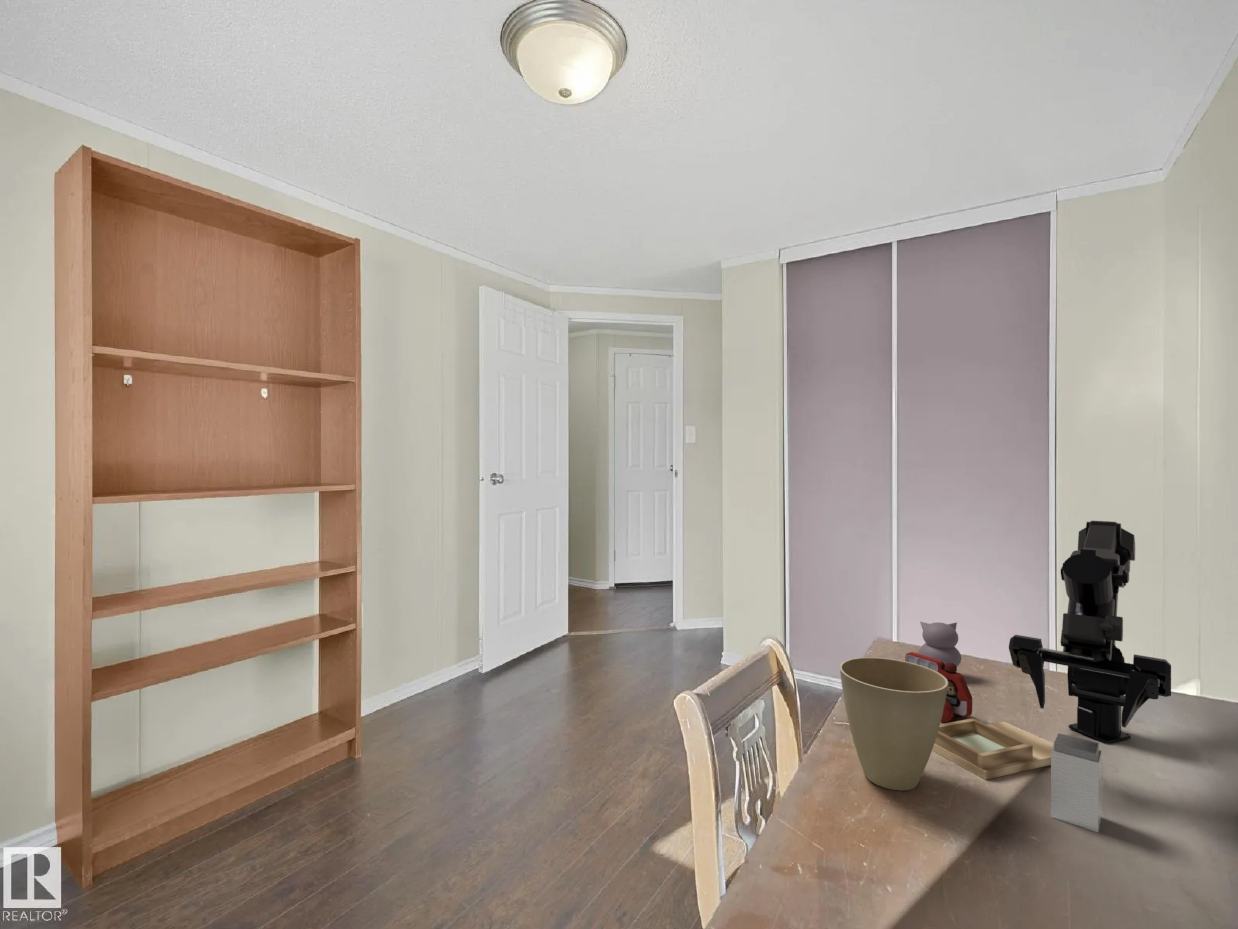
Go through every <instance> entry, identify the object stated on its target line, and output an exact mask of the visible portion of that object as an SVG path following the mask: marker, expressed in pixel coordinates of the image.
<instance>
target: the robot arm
mask: <svg viewBox="0 0 1238 929" xmlns="http://www.w3.org/2000/svg"><path fill="white" fill-rule="evenodd" d="M1077 537H1078V538H1077V550H1073V551H1072V553H1071V554H1070V556H1069V557H1067V559H1066V560H1065V561H1064V562H1063V563H1062V566H1061V568H1060V579H1061V580H1062V581H1064V586H1065V594H1066V596H1067V598H1068V606H1067V612H1066V613H1062V627H1061V628H1062V629H1061V635H1060V646H1061V647H1063V648H1062V650H1055V649H1051V648H1044V647H1043V642H1042V638H1040V637H1039V638H1038V637H1032V636H1026V635H1021V634H1014V635H1013V636H1011V637H1010V638H1009V643H1008V651H1009V654H1010V658H1011V662H1012V665H1013V666H1014V667H1016V669H1020V670H1021V672H1022V673H1024V674H1027V675H1029V676H1030V679H1031V681H1032V683H1033V685H1034V687H1035V692H1036V696H1037V700H1038V703H1039V707H1040V709H1044V708H1045V703H1046V683H1045V682H1046V679H1045V678H1046V675H1045V671H1044V667H1045V665H1044V664H1045V663H1049V664H1055V665H1062V666H1066V667H1067V690H1068V691H1067V693H1068V696H1069V697H1077V707H1076V722H1075V723H1071V724H1068V728H1069V729H1071V730H1073V731H1075V732H1079V733H1081V734H1082V735H1085V736H1087V737H1090V738H1093V739H1095V740H1098V741H1101V742H1103V743H1104V744H1105V743H1106V744H1110V743H1115V742H1121V741H1123V740H1129V739H1131V738H1132V734H1130V733H1128V732H1124V731H1122V728H1127V726H1128V725H1129V723H1130V722H1131V720H1132V719H1133V717H1134V716H1135V715H1136V713H1137V711H1138V710H1139V709H1140V708H1141V707H1142V706H1143V705H1144V704H1145V703H1146V702H1147V701H1148V700H1158V699H1159V697H1164V698H1166V697H1171V696H1172V665H1171V663H1170V662H1169V661H1168V660H1167V659H1165V658H1158V657H1153V656H1152V657H1151V656H1148V655H1147V656H1146V655H1141V654H1135V653H1134V654H1133V658H1132V659H1133V660H1132V662H1133V663H1129V662H1125V661H1126V660H1125V657H1124V655H1123V653H1122V651H1121V649H1120V648H1119V647H1117V646H1116V641H1117V642H1123V637H1124V635H1123V634H1124V633H1123V632H1124V618H1123V616H1118V605H1119V604H1118V602H1119V601H1118V600H1119V591H1120V588H1122V589H1124V588H1125V586H1127V584H1128V583H1129V582H1130V572H1131V562H1133V561H1134V562H1135V561H1136V539H1135V534H1133V533H1131V532H1129V531H1128V530H1126V529H1124V528H1122V524H1121V523H1119V522H1117V521H1108V520H1107V521H1106V520H1105V521H1104V520H1090V521H1086V525H1085V527H1084V528H1082V529H1080V530H1079V531H1078V536H1077Z"/></svg>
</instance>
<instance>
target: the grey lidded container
mask: <svg viewBox="0 0 1238 929" xmlns="http://www.w3.org/2000/svg"><path fill="white" fill-rule="evenodd" d="M1053 743H1054V745H1053V747H1052V749H1051V765H1050V817H1051V818H1052V819H1056V820H1059V821H1062V822H1065V823H1068V824H1071V825H1074V826H1077V827H1081V828H1083V829H1086V830H1089V831H1093V832H1096V833H1099V831H1100V827H1101V821H1102V791H1103V790H1102V785H1103V784H1102V778H1103V776H1102V774H1103V773H1102V772H1103V771H1102V763H1103V762H1102V761H1103V760H1102V755H1103V752H1102V750H1100V749H1099V748H1100V745H1099V744H1100V743H1099V742H1095V741H1091V740H1089V739H1088V740H1087V739H1083V738H1079V737H1075V736H1071V735H1068V734H1063V733H1057V735H1056V738H1055V740H1054V742H1053Z"/></svg>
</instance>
